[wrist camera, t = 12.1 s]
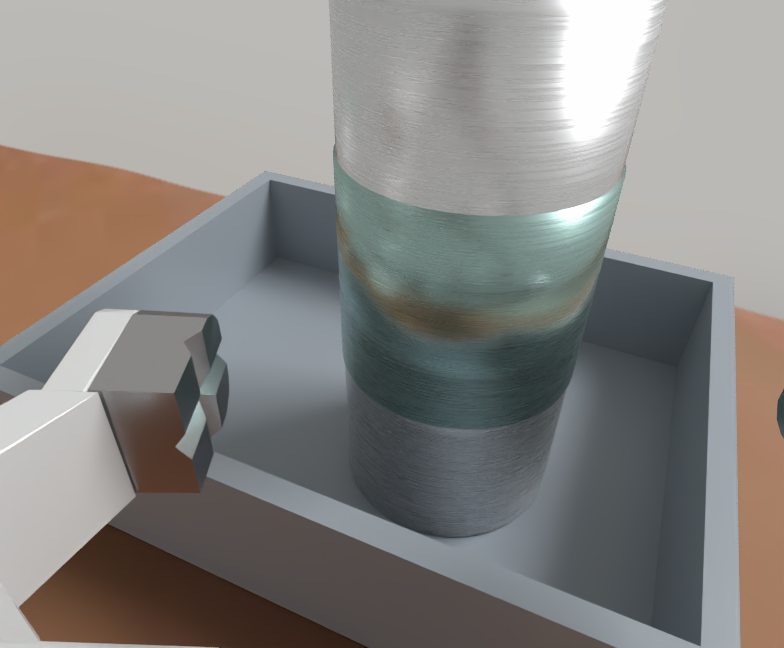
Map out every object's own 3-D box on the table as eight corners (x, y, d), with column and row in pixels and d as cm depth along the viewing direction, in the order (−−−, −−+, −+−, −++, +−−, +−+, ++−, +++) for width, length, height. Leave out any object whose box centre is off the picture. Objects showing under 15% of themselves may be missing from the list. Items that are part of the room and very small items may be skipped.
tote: (18, 481, 17) (-41, 372, 15) (274, 259, 27) (265, 171, 24) (661, 786, 12) (741, 699, 9) (690, 374, 22) (733, 277, 19)
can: (310, 492, 16) (255, -10, 9) (394, 364, 21) (403, -51, 13) (518, 572, 15) (658, 29, 7) (564, 415, 19) (682, -32, 11)
